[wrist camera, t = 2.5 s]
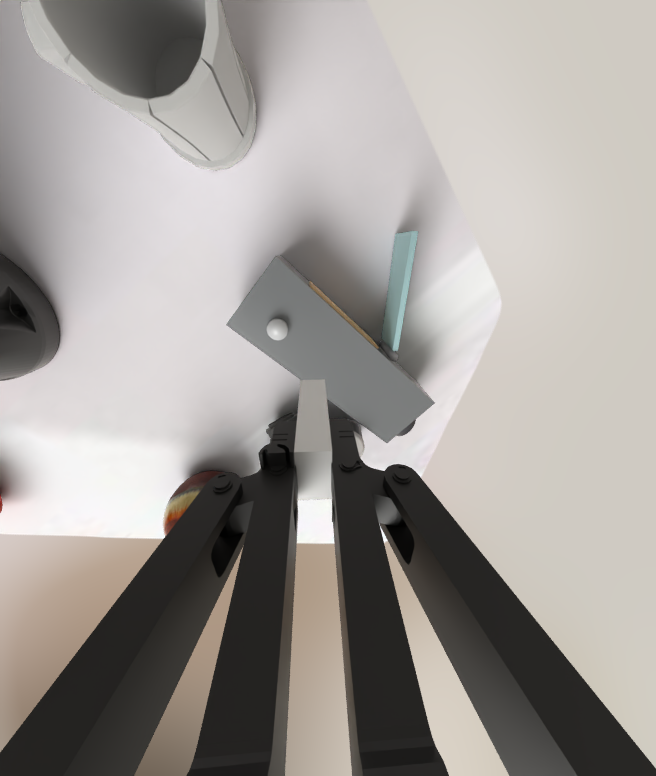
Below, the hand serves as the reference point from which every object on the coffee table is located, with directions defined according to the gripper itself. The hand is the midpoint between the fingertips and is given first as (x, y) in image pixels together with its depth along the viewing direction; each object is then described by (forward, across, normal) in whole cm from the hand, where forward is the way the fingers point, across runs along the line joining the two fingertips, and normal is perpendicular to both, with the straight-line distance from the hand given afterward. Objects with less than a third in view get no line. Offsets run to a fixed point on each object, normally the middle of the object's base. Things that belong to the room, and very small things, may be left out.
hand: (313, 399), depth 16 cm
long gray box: (+18, +3, -3) cm, 18 cm away
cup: (+18, -9, +19) cm, 28 cm away
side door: (+18, +9, +4) cm, 20 cm away
